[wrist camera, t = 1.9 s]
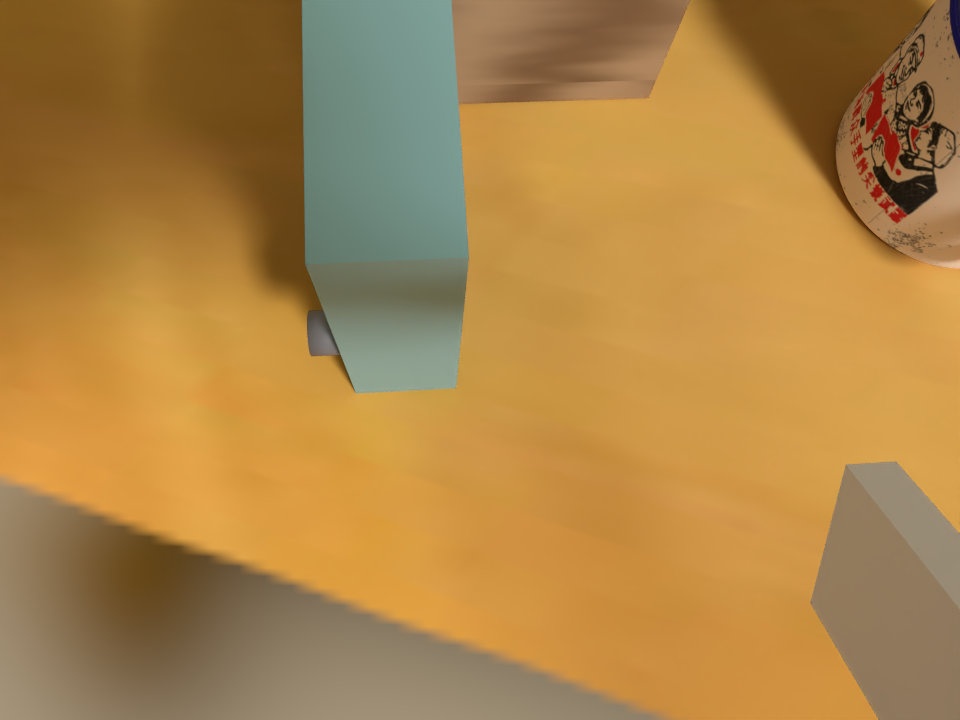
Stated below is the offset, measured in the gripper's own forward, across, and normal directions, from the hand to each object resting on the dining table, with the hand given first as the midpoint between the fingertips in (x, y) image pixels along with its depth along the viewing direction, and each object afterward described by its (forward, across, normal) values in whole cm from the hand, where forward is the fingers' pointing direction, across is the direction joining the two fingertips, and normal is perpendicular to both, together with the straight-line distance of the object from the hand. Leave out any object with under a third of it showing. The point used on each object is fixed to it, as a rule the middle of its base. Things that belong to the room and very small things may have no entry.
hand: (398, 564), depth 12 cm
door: (+19, 0, -4) cm, 20 cm away
